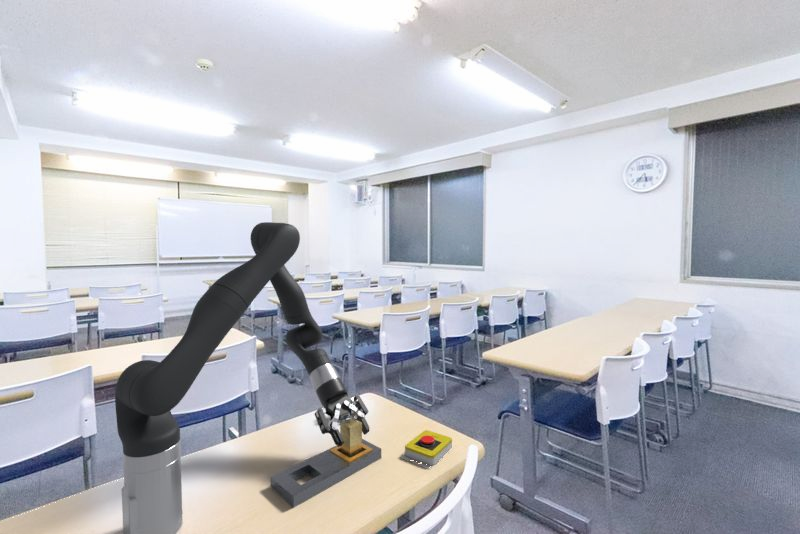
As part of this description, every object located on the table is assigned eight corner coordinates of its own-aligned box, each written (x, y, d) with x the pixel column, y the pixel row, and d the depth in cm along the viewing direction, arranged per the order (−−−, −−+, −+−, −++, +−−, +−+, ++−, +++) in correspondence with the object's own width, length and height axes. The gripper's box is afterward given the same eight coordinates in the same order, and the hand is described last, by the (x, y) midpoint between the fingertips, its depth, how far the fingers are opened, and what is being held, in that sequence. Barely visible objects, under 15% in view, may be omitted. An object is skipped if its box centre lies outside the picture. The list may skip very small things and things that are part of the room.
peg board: (293, 507, 79) (293, 494, 79) (270, 487, 86) (270, 475, 86) (381, 457, 98) (381, 447, 98) (356, 444, 105) (356, 434, 105)
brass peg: (350, 466, 94) (349, 427, 94) (340, 460, 97) (340, 422, 97) (362, 459, 97) (361, 422, 97) (352, 454, 100) (352, 417, 99)
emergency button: (399, 443, 98) (429, 422, 110) (400, 460, 98) (429, 436, 110) (430, 454, 92) (457, 430, 105) (430, 471, 93) (457, 446, 105)
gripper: (311, 384, 96) (338, 442, 89) (353, 371, 106) (381, 422, 99) (300, 398, 100) (325, 456, 93) (342, 384, 110) (368, 435, 103)
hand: (354, 438), depth 96 cm, fingers open, 8 cm apart
